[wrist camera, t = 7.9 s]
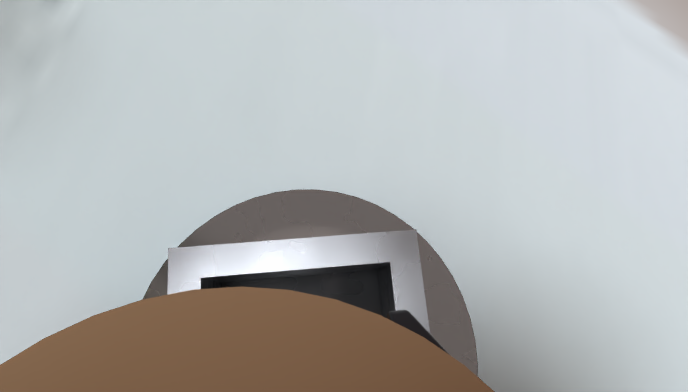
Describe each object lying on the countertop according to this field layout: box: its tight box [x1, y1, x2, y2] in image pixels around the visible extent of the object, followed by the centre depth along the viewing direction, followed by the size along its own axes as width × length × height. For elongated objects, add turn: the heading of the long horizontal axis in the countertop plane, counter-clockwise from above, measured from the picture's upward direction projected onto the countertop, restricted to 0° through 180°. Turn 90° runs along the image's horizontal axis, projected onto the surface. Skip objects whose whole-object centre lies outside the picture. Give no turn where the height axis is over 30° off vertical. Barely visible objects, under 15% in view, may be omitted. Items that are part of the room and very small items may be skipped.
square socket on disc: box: [143, 190, 478, 376], centre depth 14 cm, size 13×13×4 cm
